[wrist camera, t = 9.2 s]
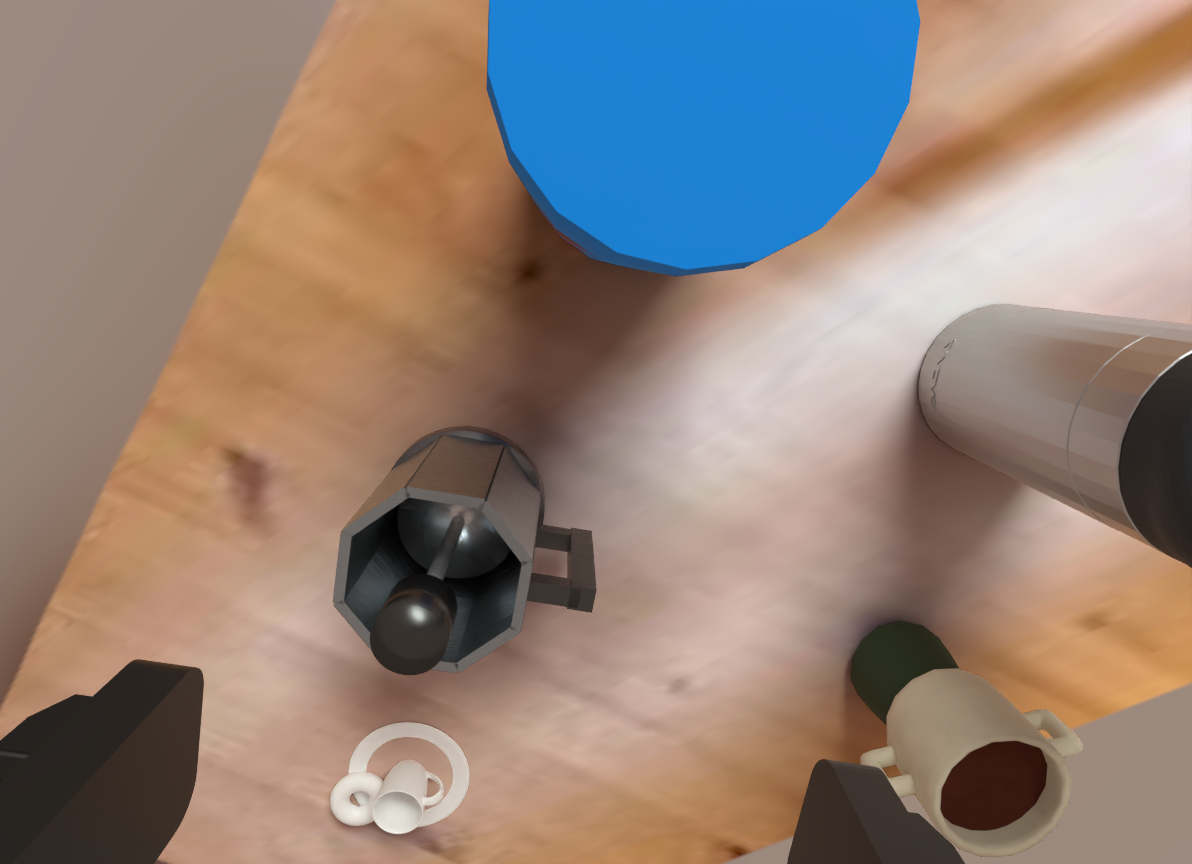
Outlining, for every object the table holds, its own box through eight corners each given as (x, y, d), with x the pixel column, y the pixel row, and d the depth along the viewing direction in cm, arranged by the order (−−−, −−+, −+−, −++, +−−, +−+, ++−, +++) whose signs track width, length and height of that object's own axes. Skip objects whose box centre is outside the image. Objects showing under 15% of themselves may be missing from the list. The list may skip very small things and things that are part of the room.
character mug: (822, 727, 51) (905, 882, 38) (802, 633, 49) (882, 762, 37) (982, 688, 51) (1119, 831, 38) (967, 591, 49) (1105, 708, 37)
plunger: (527, 471, 44) (507, 574, 30) (509, 581, 45) (481, 728, 31) (408, 451, 43) (330, 546, 29) (393, 563, 45) (312, 704, 30)
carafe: (602, 448, 46) (613, 511, 35) (574, 594, 48) (576, 698, 37) (397, 413, 45) (339, 466, 34) (377, 563, 47) (316, 660, 36)
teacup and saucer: (333, 814, 52) (314, 860, 48) (343, 709, 50) (323, 749, 46) (463, 827, 52) (454, 874, 48) (476, 725, 51) (469, 765, 47)
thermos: (629, 305, 44) (701, 363, 20) (490, 171, 42) (384, 56, 18) (763, 162, 43) (1018, 37, 19) (625, 16, 41) (707, -335, 17)
